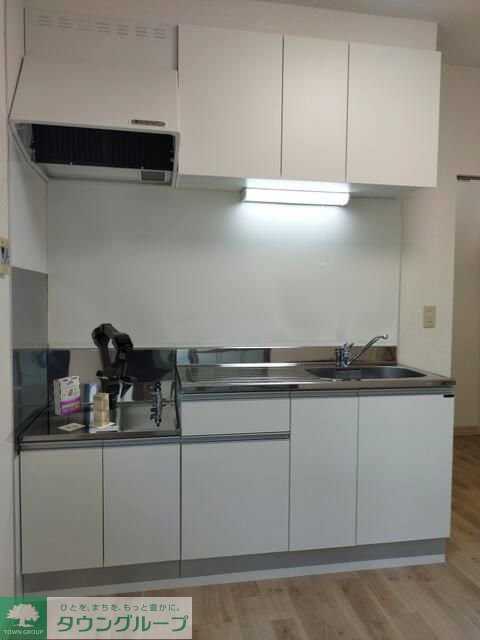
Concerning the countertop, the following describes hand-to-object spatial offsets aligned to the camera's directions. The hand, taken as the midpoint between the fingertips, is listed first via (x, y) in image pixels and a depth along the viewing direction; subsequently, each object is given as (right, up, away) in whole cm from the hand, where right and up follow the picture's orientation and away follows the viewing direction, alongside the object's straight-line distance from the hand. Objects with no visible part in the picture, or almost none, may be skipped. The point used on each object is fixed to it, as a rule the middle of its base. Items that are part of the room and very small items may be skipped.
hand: (112, 396), depth 202 cm
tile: (-14, -11, -11) cm, 21 cm away
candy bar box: (-24, -9, +10) cm, 27 cm away
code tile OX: (-2, -11, -8) cm, 14 cm away
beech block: (-2, -11, -8) cm, 14 cm away
